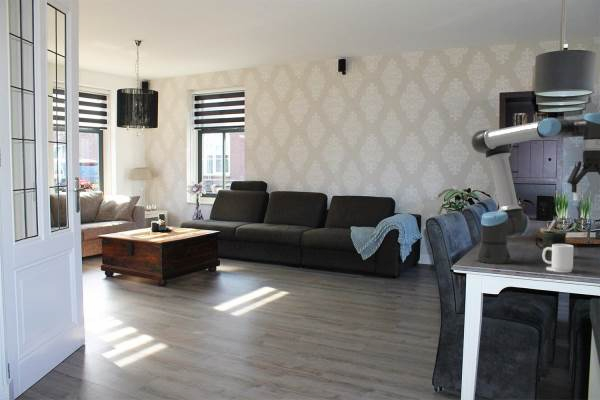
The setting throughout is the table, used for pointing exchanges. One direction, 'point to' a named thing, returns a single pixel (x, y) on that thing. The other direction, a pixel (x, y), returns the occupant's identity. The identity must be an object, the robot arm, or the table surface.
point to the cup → (560, 256)
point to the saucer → (557, 270)
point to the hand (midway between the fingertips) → (591, 200)
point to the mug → (551, 240)
